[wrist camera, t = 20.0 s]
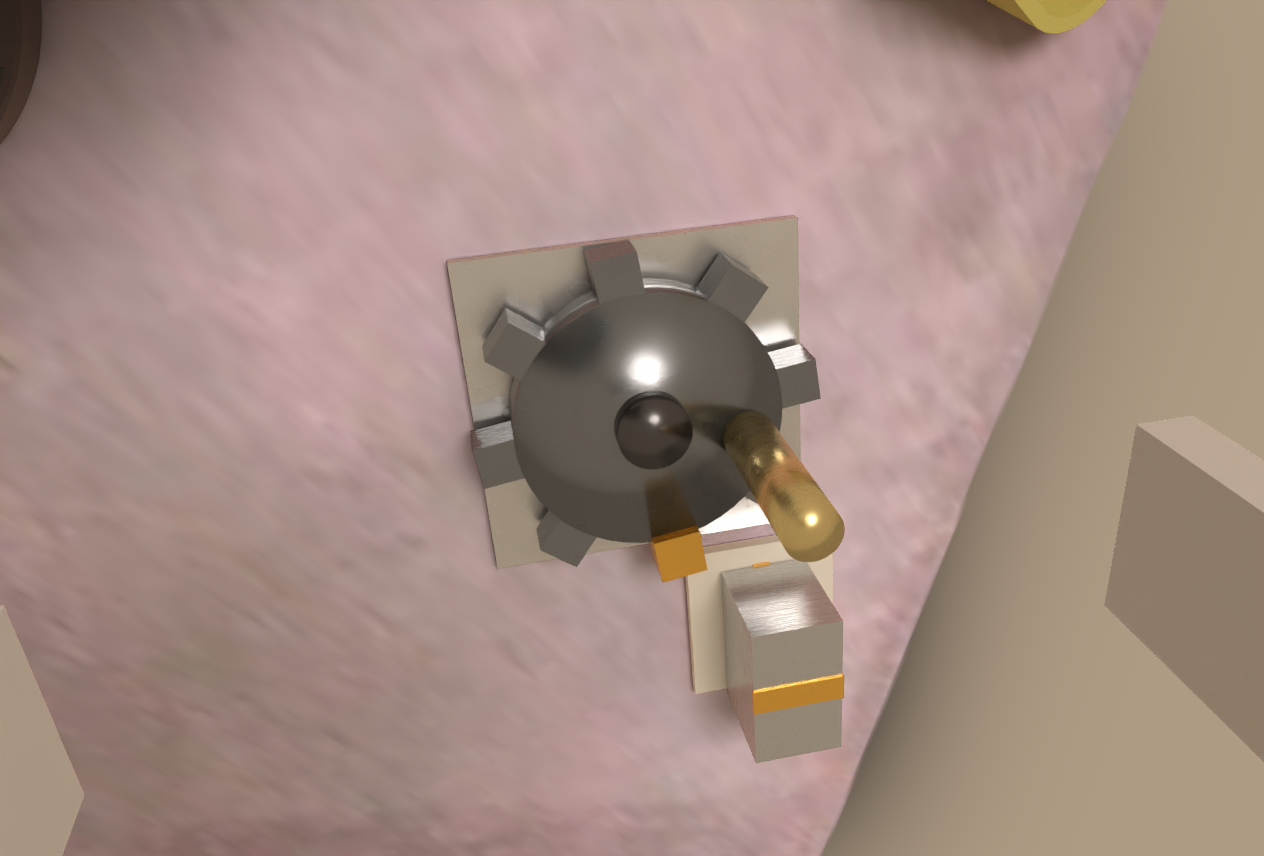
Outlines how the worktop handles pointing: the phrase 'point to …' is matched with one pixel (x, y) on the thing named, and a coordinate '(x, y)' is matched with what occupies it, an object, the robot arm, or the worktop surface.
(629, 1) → the worktop surface
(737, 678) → the link block
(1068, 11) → the plastic component
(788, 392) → the sprocket
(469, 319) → the sprocket base
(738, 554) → the marked pad
